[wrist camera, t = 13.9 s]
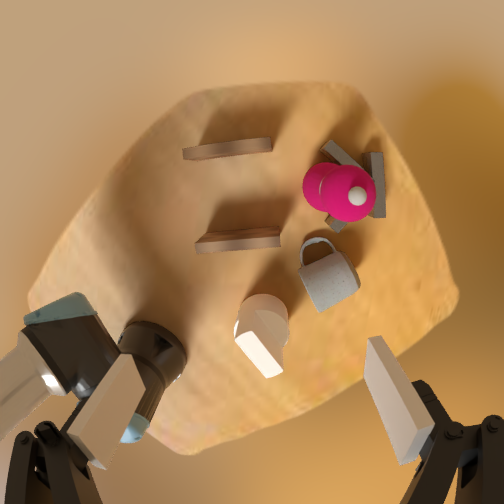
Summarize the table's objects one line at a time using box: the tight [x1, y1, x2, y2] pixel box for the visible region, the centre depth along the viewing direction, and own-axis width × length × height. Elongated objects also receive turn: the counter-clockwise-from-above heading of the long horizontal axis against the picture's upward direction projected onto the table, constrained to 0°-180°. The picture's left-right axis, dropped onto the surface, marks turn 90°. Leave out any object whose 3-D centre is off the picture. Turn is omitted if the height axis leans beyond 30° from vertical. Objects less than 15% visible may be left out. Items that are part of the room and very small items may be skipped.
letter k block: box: [319, 140, 386, 233], centre depth 40 cm, size 9×14×4 cm, turn 6°
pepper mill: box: [303, 162, 376, 222], centre depth 33 cm, size 7×7×20 cm
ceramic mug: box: [298, 237, 361, 312], centre depth 42 cm, size 11×8×8 cm
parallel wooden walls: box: [182, 137, 281, 254], centre depth 40 cm, size 12×15×7 cm
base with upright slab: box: [234, 294, 289, 378], centre depth 44 cm, size 9×9×12 cm
